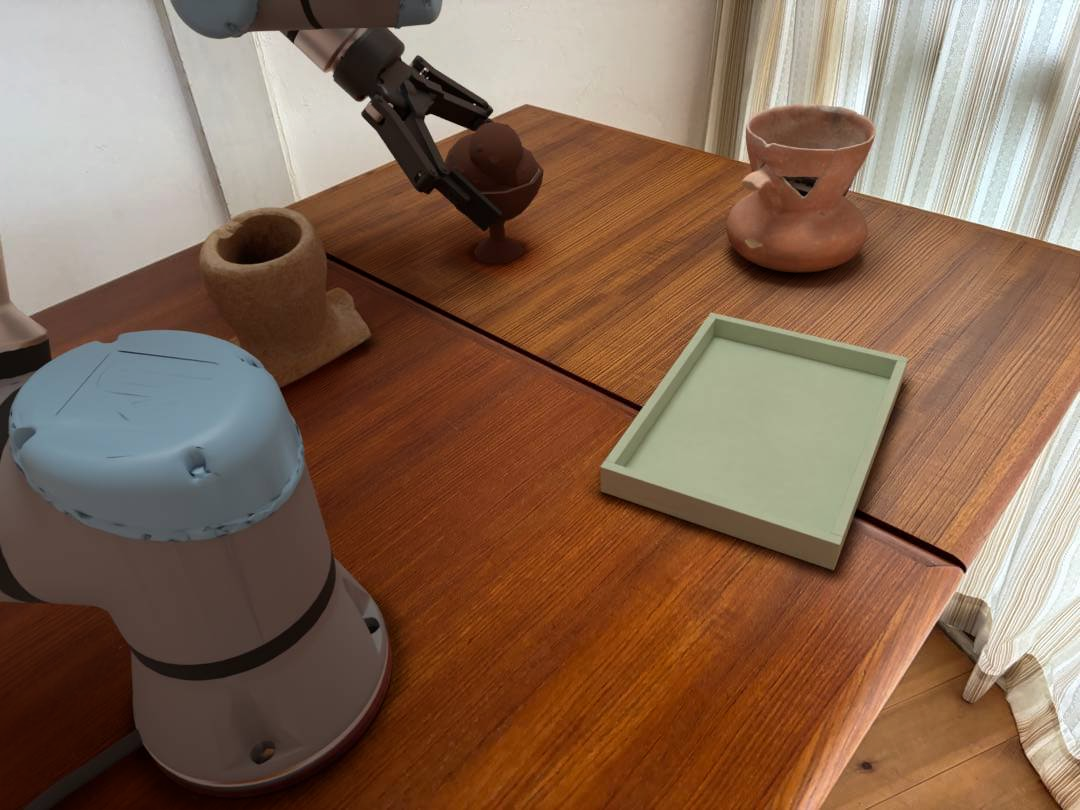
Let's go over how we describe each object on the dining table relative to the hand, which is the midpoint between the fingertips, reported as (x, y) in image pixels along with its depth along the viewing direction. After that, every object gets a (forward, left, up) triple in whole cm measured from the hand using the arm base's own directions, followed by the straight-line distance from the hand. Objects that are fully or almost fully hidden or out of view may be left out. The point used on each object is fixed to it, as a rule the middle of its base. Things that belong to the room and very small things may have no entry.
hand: (509, 194), depth 91 cm
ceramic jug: (+12, -28, -7) cm, 32 cm away
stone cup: (-27, +8, -7) cm, 29 cm away
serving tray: (-19, -34, -7) cm, 40 cm away
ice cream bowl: (-1, +2, -7) cm, 7 cm away
